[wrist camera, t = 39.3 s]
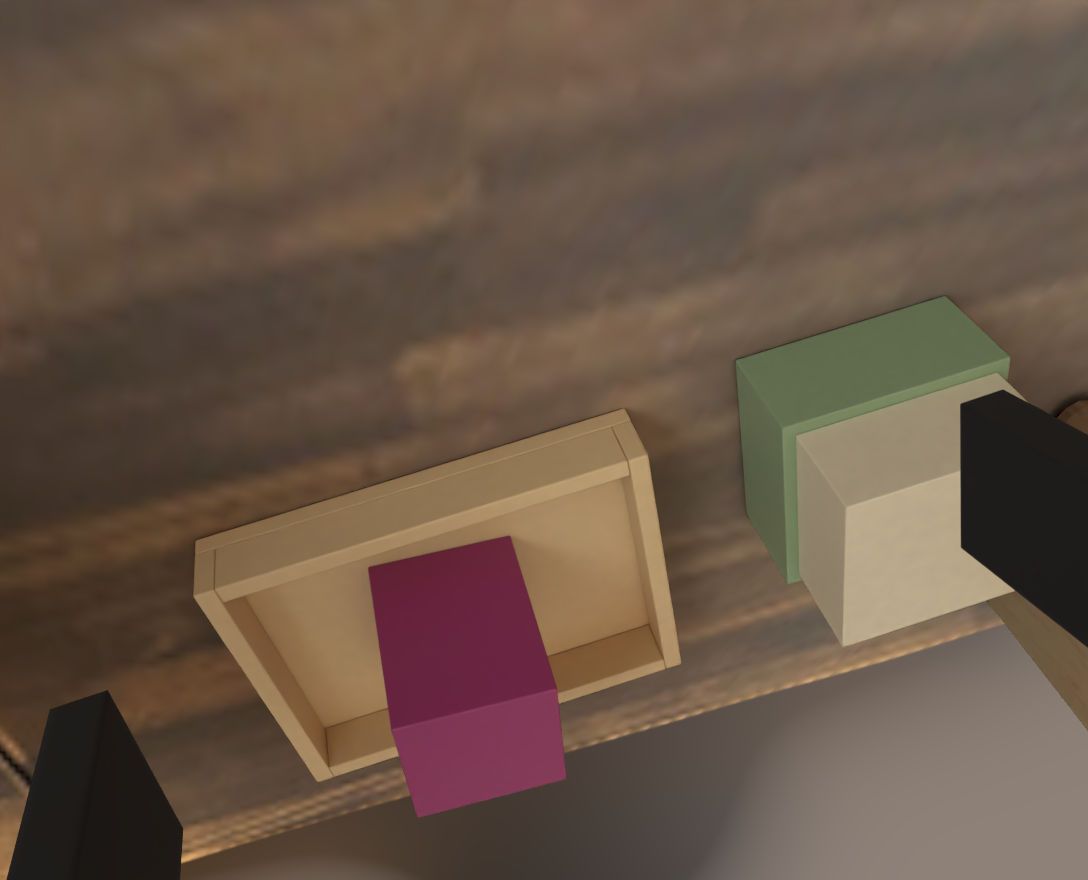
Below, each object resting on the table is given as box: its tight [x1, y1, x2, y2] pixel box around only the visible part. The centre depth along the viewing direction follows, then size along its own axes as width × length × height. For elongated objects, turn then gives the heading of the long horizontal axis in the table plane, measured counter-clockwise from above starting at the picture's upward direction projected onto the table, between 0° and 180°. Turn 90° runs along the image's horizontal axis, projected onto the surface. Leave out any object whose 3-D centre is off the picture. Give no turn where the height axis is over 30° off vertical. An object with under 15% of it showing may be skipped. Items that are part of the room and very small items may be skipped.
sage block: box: [736, 296, 1011, 584], centre depth 41 cm, size 9×9×4 cm
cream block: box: [796, 373, 1027, 647], centre depth 38 cm, size 8×8×4 cm
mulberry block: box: [368, 536, 566, 817], centre depth 40 cm, size 6×6×8 cm
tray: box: [193, 409, 681, 782], centre depth 42 cm, size 18×14×3 cm
